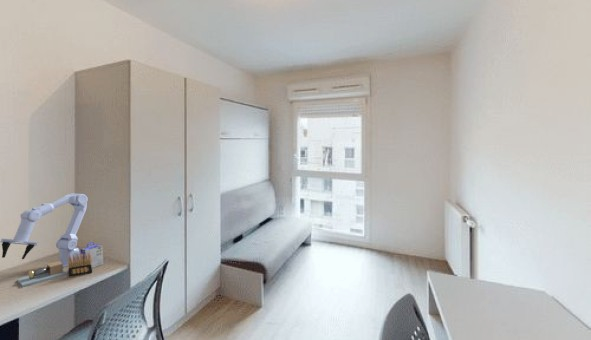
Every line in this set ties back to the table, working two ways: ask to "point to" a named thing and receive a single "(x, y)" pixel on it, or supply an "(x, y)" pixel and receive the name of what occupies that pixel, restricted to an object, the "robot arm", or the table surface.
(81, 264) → the ammunition clip
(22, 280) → the mounting board
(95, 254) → the ink cartridge box
